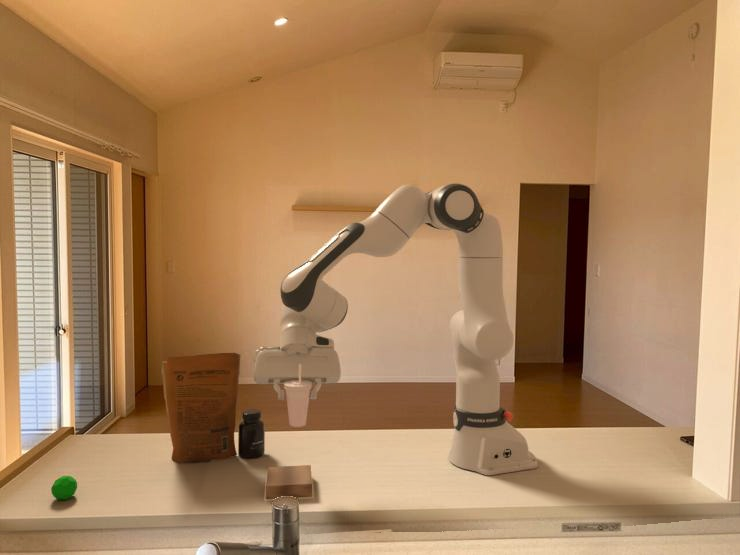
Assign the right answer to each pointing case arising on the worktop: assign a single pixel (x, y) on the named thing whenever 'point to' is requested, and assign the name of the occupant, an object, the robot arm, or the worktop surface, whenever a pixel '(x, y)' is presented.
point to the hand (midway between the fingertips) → (297, 398)
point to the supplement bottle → (251, 435)
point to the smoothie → (297, 400)
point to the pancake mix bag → (201, 405)
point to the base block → (289, 481)
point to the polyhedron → (64, 487)
